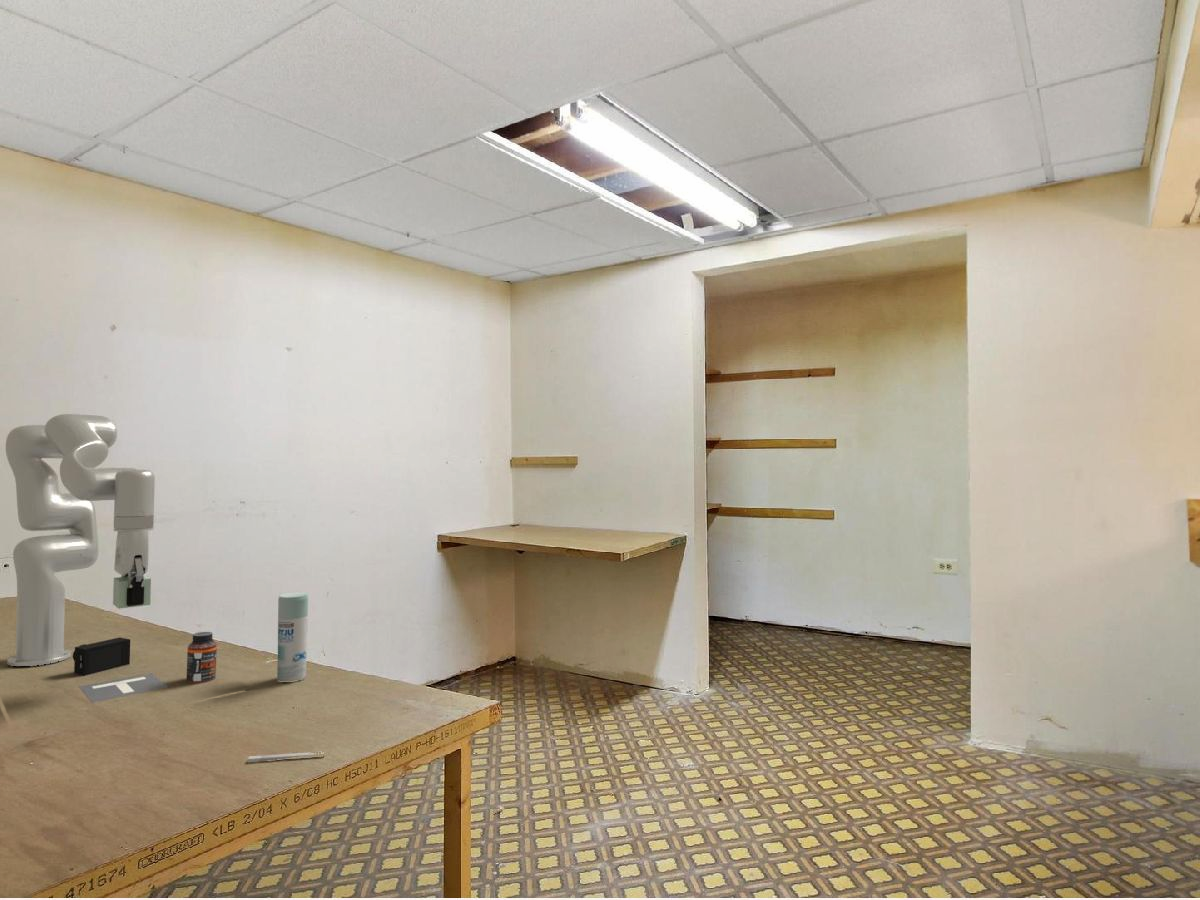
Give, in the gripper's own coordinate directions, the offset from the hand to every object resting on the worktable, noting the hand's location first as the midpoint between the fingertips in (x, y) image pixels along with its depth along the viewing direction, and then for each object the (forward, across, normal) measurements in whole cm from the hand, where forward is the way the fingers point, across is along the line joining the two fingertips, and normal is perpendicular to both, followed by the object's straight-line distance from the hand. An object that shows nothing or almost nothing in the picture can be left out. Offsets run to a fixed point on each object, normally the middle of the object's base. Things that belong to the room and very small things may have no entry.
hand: (131, 601), depth 155 cm
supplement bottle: (+20, +7, +13) cm, 24 cm away
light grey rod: (+20, +62, +12) cm, 66 cm away
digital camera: (+20, -19, -2) cm, 27 cm away
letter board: (+19, +1, -1) cm, 19 cm away
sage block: (+1, 0, 0) cm, 1 cm away
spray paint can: (+19, +18, +29) cm, 39 cm away
